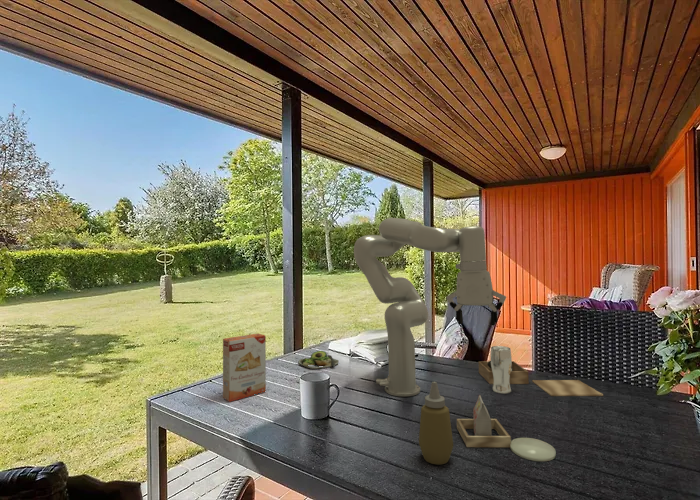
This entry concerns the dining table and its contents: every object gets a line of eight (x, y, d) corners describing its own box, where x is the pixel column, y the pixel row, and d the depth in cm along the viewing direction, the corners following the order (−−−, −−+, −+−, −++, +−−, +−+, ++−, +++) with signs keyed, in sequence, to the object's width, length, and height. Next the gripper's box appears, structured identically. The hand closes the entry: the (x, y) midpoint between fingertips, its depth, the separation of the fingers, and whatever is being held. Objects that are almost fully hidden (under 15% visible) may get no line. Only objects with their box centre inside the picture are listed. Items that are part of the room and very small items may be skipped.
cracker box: (229, 403, 128) (228, 340, 129) (222, 398, 133) (221, 338, 133) (266, 392, 138) (266, 334, 138) (258, 388, 142) (258, 332, 143)
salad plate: (349, 366, 170) (349, 356, 170) (315, 374, 160) (314, 363, 160) (326, 357, 186) (326, 348, 186) (293, 364, 175) (293, 354, 176)
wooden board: (551, 396, 128) (551, 394, 128) (532, 381, 143) (532, 380, 143) (603, 395, 128) (603, 394, 128) (578, 381, 143) (578, 380, 143)
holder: (466, 447, 95) (466, 437, 96) (456, 427, 106) (456, 418, 106) (511, 447, 95) (510, 437, 95) (496, 427, 106) (496, 418, 106)
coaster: (519, 461, 88) (519, 457, 88) (504, 440, 98) (504, 437, 98) (563, 461, 88) (563, 458, 88) (544, 440, 98) (543, 437, 98)
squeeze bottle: (415, 451, 94) (413, 377, 94) (447, 449, 95) (445, 376, 95) (424, 469, 86) (422, 389, 86) (459, 466, 87) (457, 387, 87)
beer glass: (508, 387, 138) (507, 345, 138) (515, 394, 131) (514, 350, 131) (489, 387, 139) (487, 345, 139) (494, 393, 132) (493, 350, 132)
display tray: (489, 384, 142) (489, 371, 142) (478, 372, 156) (478, 361, 156) (528, 383, 141) (528, 371, 141) (514, 372, 155) (513, 361, 155)
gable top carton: (487, 432, 104) (486, 395, 104) (491, 444, 97) (490, 404, 97) (473, 431, 104) (472, 394, 105) (476, 442, 98) (475, 403, 98)
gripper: (441, 268, 116) (444, 325, 115) (502, 266, 108) (506, 327, 107) (448, 268, 123) (451, 321, 122) (505, 266, 114) (509, 323, 113)
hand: (476, 324), depth 114 cm, fingers open, 9 cm apart
